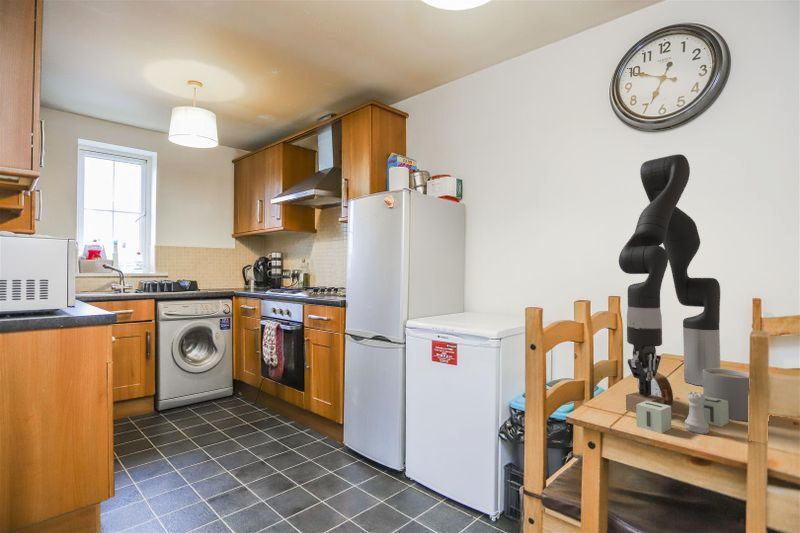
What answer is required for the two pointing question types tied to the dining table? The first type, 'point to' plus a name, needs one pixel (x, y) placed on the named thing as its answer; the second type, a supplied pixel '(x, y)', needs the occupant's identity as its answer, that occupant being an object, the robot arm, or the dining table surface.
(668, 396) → the tin
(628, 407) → the walnut block
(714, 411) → the numbered block seven
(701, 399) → the rook chess piece
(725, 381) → the coffee mug
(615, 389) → the dining table surface
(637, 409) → the numbered block one
